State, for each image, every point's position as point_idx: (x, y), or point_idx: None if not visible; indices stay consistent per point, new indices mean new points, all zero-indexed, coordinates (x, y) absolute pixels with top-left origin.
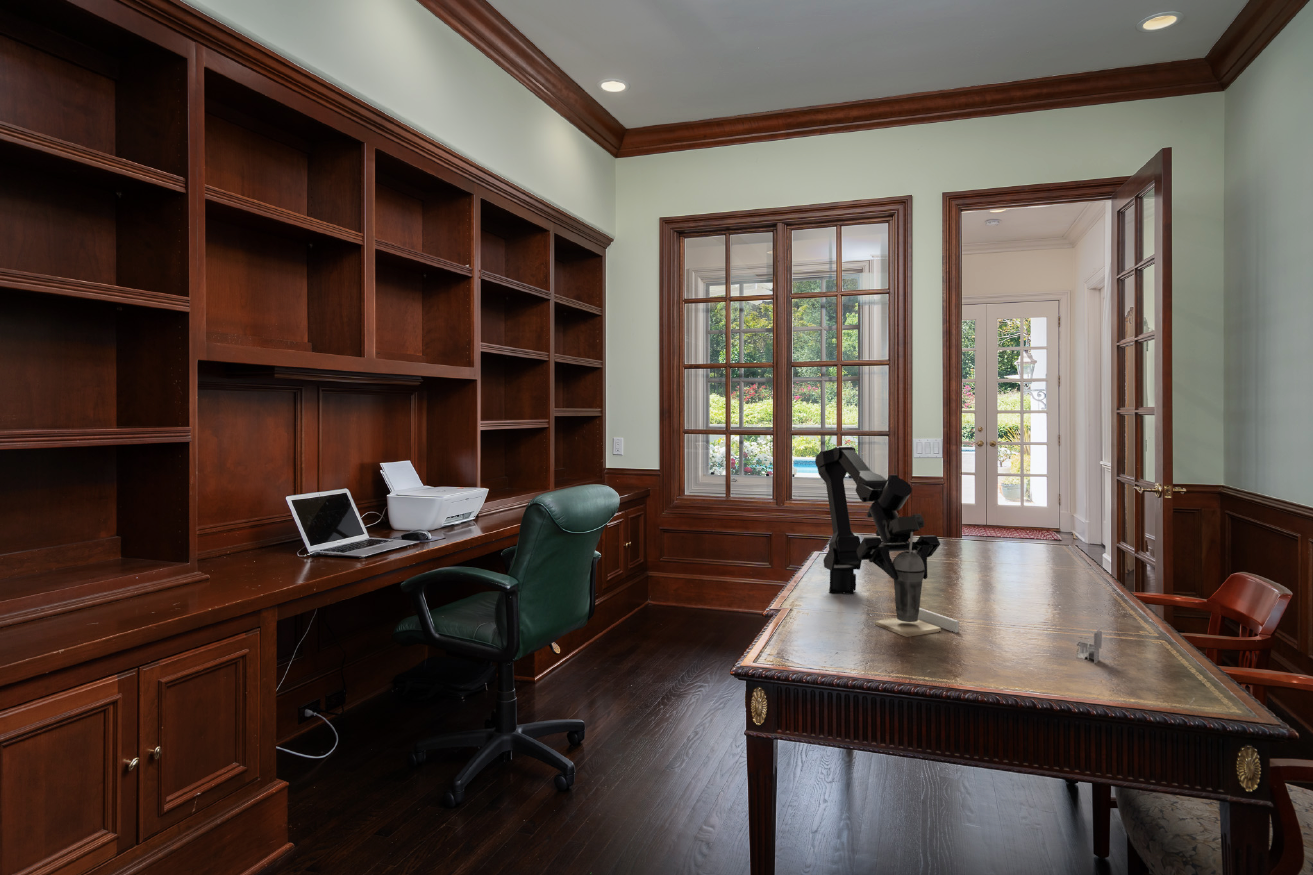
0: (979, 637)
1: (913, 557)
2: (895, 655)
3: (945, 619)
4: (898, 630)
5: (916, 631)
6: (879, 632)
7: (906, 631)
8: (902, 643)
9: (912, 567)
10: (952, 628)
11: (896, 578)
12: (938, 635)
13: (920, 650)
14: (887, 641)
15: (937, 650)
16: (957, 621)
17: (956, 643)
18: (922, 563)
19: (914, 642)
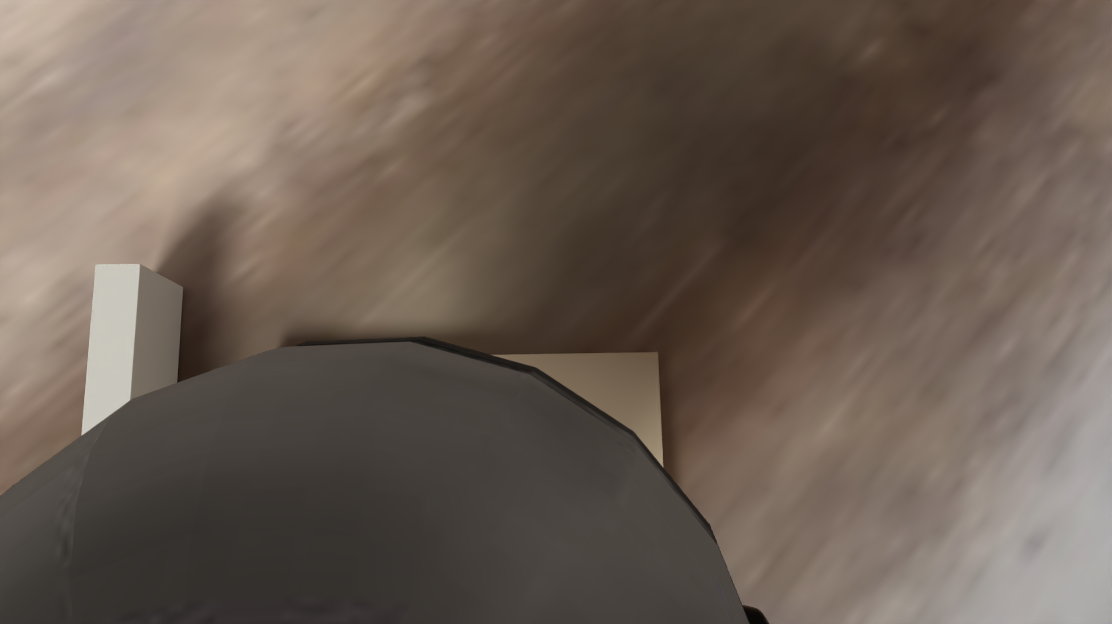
0: (110, 124)
1: (387, 494)
2: (1004, 78)
3: (138, 389)
4: (660, 453)
5: (540, 362)
6: (783, 549)
7: (621, 397)
8: (789, 252)
9: (545, 391)
10: (171, 313)
11: (755, 615)
12: (375, 289)
13: (770, 85)
14: (868, 334)
15: (655, 38)
16: (117, 264)
17: (402, 93)
18: (136, 401)
19: (686, 234)
